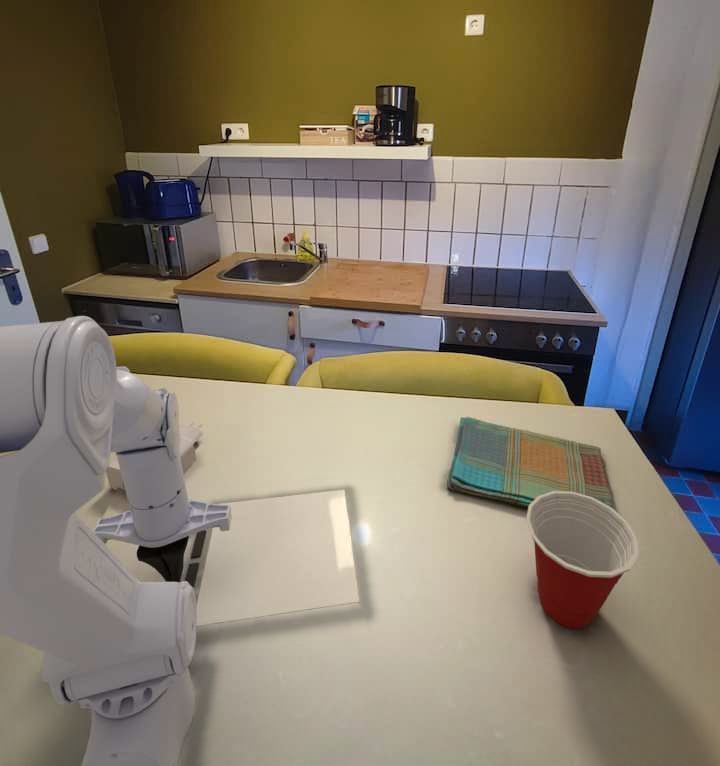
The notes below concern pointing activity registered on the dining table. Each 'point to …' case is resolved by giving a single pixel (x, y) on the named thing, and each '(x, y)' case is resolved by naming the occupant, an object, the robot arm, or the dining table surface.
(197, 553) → the ink strip
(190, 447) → the charger
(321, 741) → the dining table surface
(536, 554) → the plastic cup
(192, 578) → the ink strip
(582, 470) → the dish towel
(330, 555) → the whiteboard
